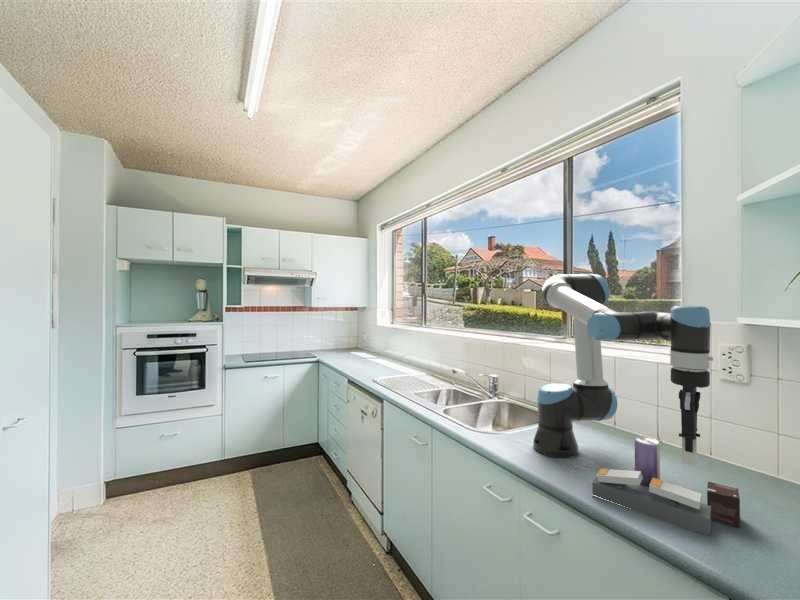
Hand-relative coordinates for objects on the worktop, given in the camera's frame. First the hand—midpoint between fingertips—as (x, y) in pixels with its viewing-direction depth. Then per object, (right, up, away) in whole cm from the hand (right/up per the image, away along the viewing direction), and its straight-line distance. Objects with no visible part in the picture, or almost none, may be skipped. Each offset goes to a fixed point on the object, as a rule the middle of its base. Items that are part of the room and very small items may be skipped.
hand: (689, 462), depth 89 cm
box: (+10, -15, +1) cm, 18 cm away
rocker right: (-2, -9, +2) cm, 10 cm away
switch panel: (-6, -15, +6) cm, 17 cm away
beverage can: (-1, -15, +13) cm, 20 cm away
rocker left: (-11, -9, +10) cm, 18 cm away
